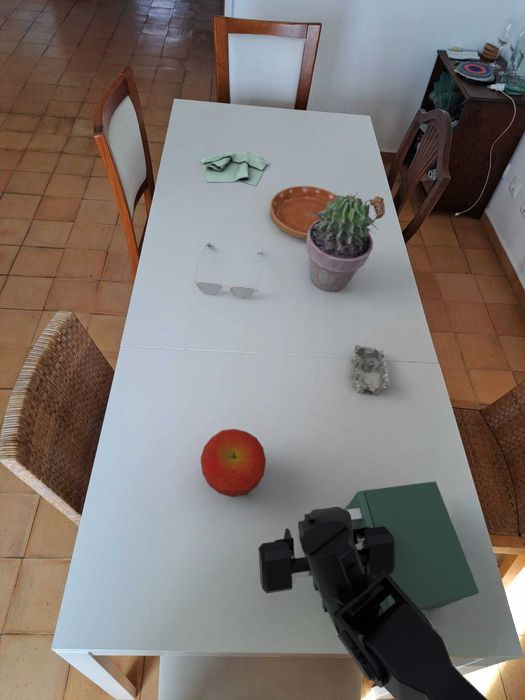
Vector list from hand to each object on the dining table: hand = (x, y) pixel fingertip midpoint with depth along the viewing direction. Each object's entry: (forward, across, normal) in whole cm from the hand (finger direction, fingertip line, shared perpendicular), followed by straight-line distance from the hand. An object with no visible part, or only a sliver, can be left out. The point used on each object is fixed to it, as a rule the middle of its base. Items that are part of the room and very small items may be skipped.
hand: (310, 527), depth 71 cm
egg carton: (+29, -21, -17) cm, 39 cm away
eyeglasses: (+52, +5, -41) cm, 67 cm away
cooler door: (+2, -4, +9) cm, 10 cm away
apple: (+14, +11, -3) cm, 18 cm away
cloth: (+85, -1, -74) cm, 112 cm away
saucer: (+66, -20, -56) cm, 89 cm away
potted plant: (+50, -19, -38) cm, 66 cm away
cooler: (+2, -14, +9) cm, 17 cm away
